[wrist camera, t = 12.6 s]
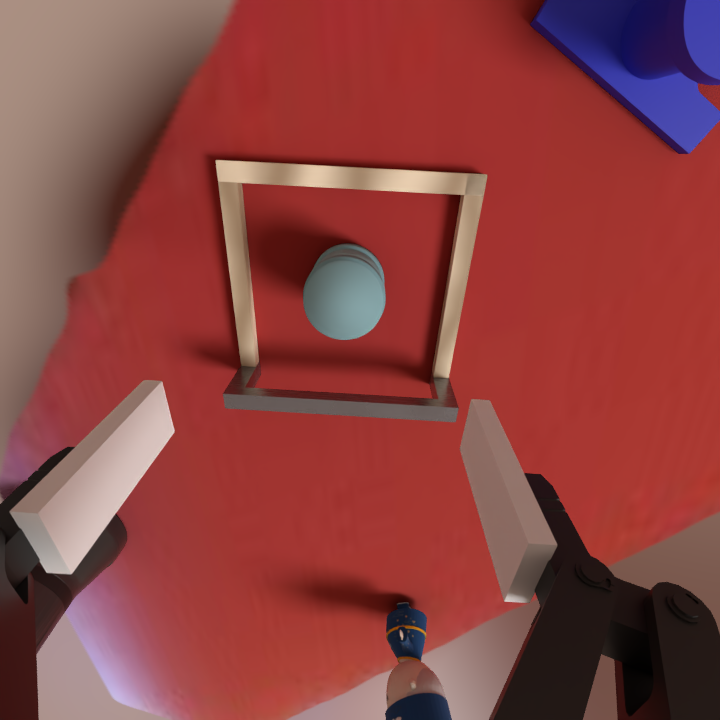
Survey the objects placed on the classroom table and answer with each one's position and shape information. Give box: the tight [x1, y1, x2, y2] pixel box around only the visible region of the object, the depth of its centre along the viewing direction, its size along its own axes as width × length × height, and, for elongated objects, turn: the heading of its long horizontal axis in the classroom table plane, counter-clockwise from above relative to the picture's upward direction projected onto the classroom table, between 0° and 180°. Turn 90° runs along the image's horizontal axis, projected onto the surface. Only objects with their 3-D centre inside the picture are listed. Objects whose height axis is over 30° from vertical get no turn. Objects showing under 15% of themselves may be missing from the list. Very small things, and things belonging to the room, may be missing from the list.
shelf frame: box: [215, 160, 487, 378], centre depth 34 cm, size 21×20×1 cm
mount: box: [530, 0, 720, 154], centre depth 21 cm, size 15×8×9 cm, turn 59°
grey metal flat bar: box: [223, 361, 459, 422], centre depth 36 cm, size 21×2×6 cm, turn 87°
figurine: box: [385, 602, 452, 720], centre depth 51 cm, size 13×9×20 cm
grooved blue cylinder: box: [303, 243, 385, 340], centre depth 31 cm, size 6×6×7 cm
